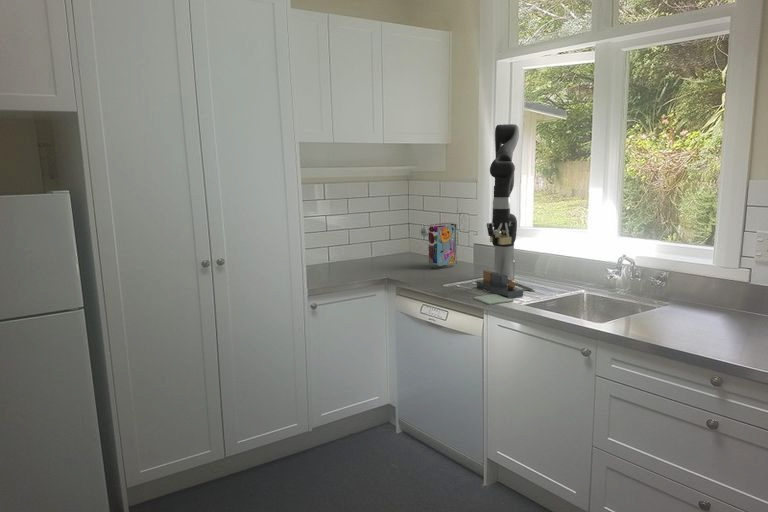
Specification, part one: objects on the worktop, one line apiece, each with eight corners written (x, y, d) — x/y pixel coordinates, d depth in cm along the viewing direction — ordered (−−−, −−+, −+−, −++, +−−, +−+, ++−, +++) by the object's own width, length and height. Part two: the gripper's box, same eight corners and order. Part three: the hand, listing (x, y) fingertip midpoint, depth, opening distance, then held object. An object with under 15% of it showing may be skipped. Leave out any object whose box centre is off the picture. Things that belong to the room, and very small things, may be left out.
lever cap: (499, 241, 252) (499, 231, 252) (511, 243, 244) (511, 234, 244) (489, 241, 250) (490, 232, 250) (501, 244, 242) (502, 235, 242)
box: (424, 272, 296) (424, 226, 292) (416, 270, 301) (416, 225, 297) (457, 266, 311) (457, 223, 307) (449, 264, 316) (449, 222, 312)
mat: (496, 295, 245) (496, 294, 245) (513, 301, 234) (513, 300, 234) (473, 298, 240) (473, 297, 240) (489, 304, 229) (489, 303, 229)
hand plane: (490, 285, 264) (491, 269, 262) (523, 296, 242) (523, 278, 241) (476, 287, 261) (477, 270, 259) (507, 298, 239) (508, 280, 238)
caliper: (495, 285, 265) (495, 272, 264) (496, 285, 266) (497, 272, 265) (534, 292, 251) (535, 278, 250) (535, 291, 252) (536, 278, 251)
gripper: (509, 206, 251) (508, 243, 254) (482, 207, 245) (482, 245, 248) (520, 207, 244) (518, 245, 247) (492, 208, 238) (491, 247, 241)
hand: (500, 245), depth 248 cm, fingers closed on lever cap, 5 cm apart
